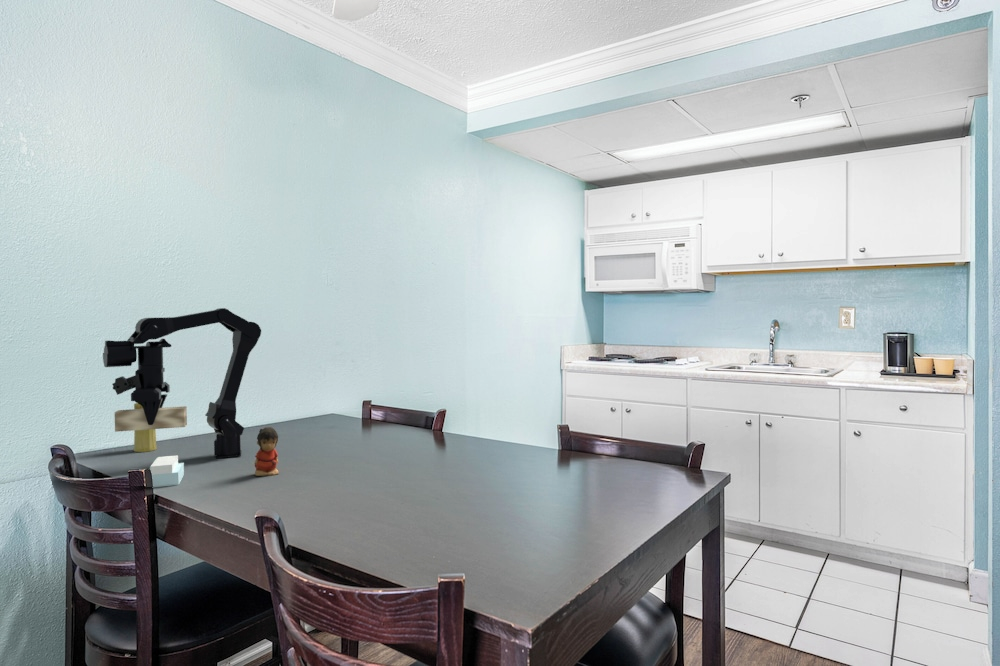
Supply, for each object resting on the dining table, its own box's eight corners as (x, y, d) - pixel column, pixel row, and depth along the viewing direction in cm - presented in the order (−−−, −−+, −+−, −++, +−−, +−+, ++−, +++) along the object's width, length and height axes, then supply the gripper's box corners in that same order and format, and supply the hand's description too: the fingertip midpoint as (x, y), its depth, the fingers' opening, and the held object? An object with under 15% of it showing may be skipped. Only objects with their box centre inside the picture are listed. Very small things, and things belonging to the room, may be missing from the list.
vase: (161, 447, 181) (160, 401, 180) (147, 452, 175) (146, 404, 174) (143, 447, 181) (141, 401, 181) (128, 452, 175) (127, 404, 175)
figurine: (248, 475, 149) (247, 428, 148) (266, 470, 154) (265, 424, 153) (265, 478, 146) (265, 430, 145) (283, 472, 151) (282, 426, 150)
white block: (184, 474, 150) (183, 454, 150) (178, 484, 141) (178, 464, 141) (152, 477, 147) (152, 457, 147) (144, 488, 138) (144, 466, 138)
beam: (186, 424, 161) (186, 406, 161) (184, 427, 158) (184, 408, 158) (118, 428, 156) (118, 410, 156) (115, 431, 152) (114, 412, 152)
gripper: (123, 363, 162) (124, 419, 162) (106, 369, 145) (107, 432, 145) (169, 362, 166) (170, 417, 167) (158, 367, 149) (159, 428, 149)
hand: (152, 423), depth 157 cm, fingers closed on beam, 4 cm apart
